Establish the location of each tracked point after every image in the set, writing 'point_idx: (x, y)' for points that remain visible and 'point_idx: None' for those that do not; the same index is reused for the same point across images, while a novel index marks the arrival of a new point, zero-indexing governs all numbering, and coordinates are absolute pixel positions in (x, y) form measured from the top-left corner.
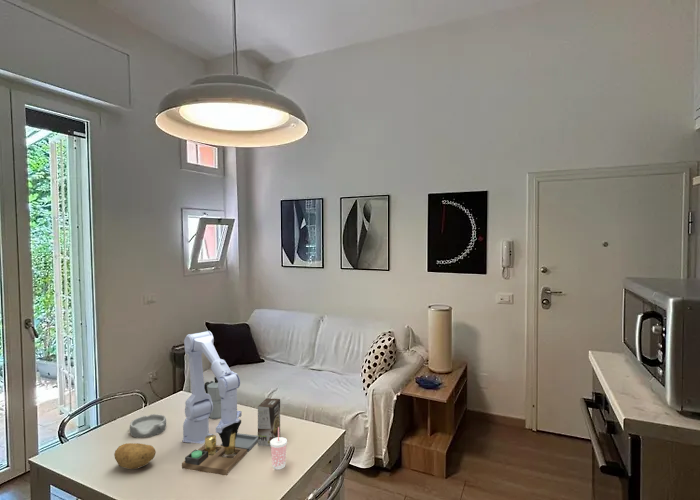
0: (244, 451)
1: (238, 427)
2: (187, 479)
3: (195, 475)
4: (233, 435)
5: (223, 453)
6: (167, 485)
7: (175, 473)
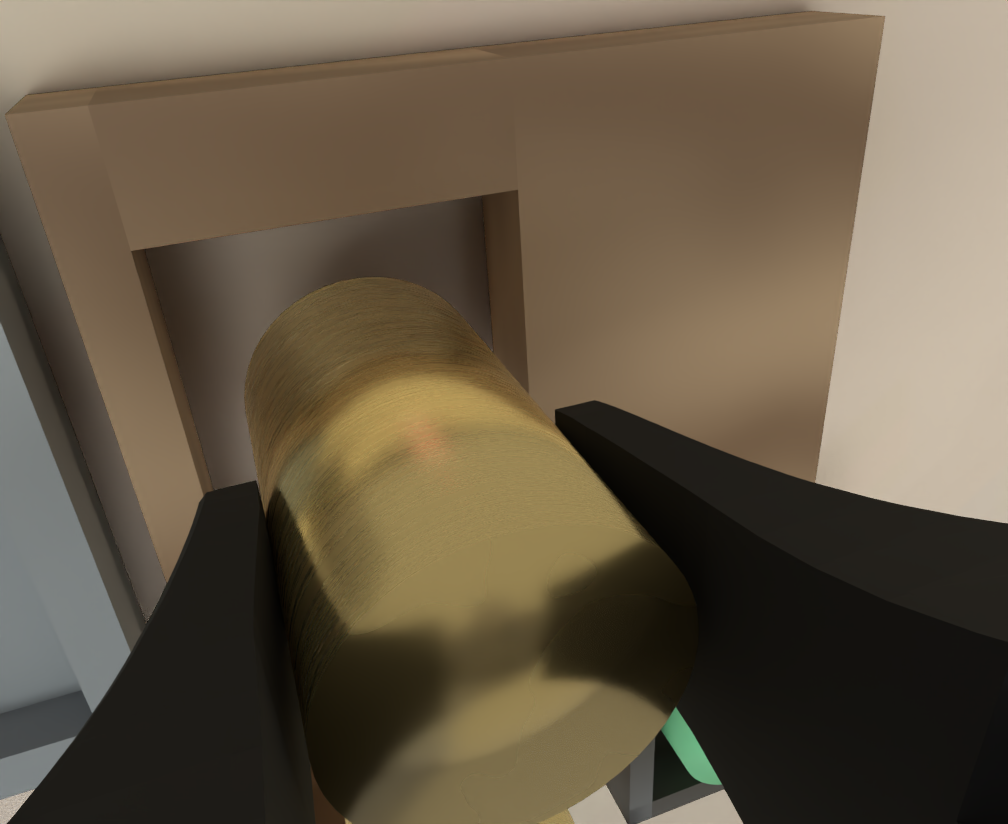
0: (136, 110)
1: (95, 776)
2: (909, 458)
3: (837, 443)
4: (553, 511)
5: None
6: None
7: None
